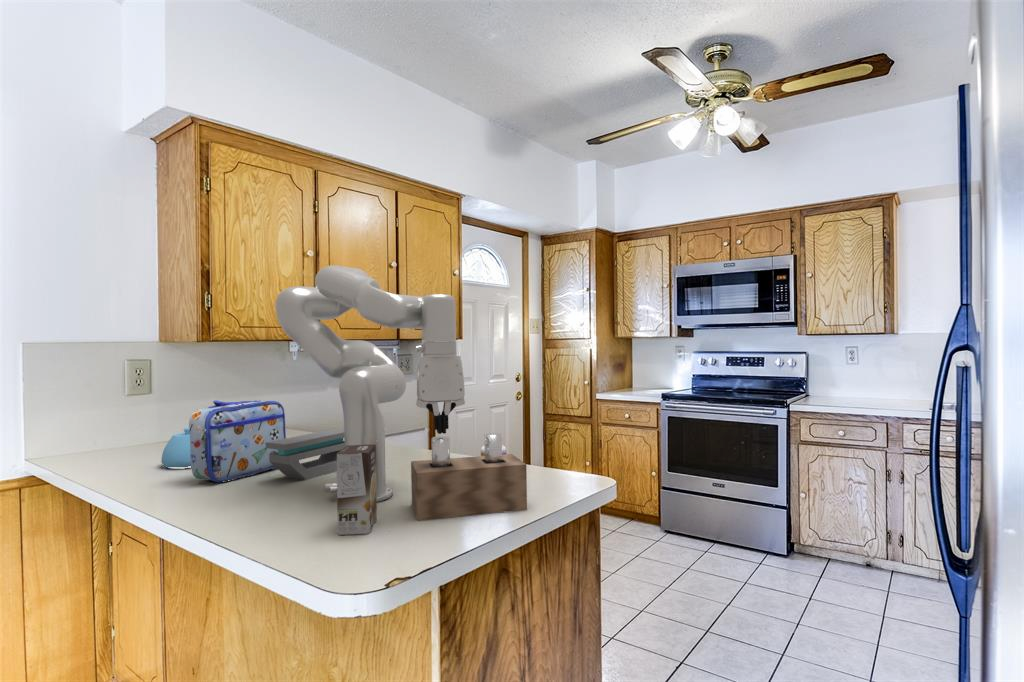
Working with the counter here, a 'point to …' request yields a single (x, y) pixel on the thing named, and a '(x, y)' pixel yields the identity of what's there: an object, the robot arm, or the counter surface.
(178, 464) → the sugar bowl
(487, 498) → the walnut block
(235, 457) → the lunch box
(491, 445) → the peg right
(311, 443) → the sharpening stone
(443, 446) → the grey rounded cylinder
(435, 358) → the robot arm
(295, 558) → the counter surface
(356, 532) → the coffee box
